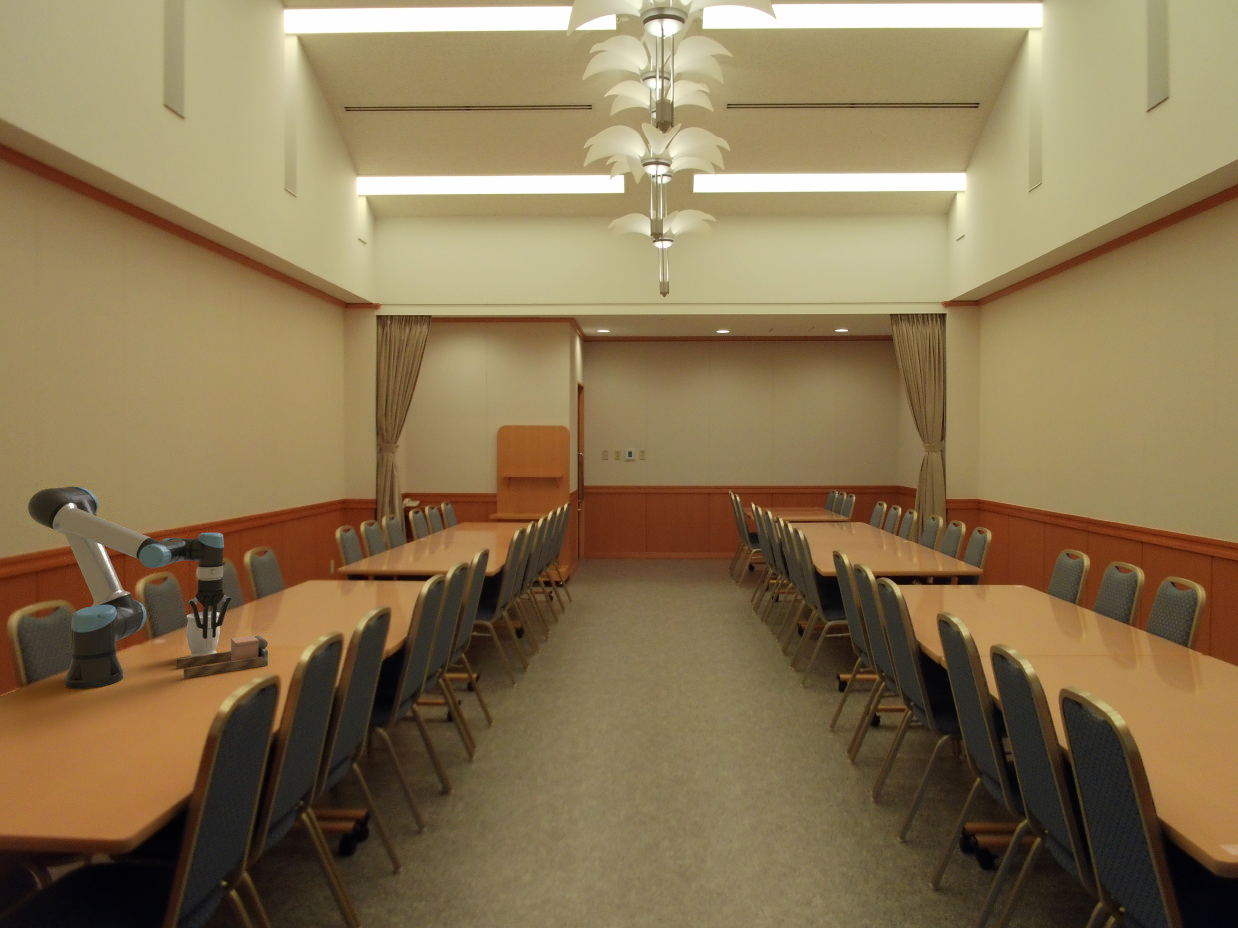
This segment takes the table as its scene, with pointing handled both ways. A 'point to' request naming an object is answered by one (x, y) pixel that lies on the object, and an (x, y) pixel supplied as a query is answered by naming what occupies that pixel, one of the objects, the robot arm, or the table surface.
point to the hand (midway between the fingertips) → (208, 647)
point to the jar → (200, 636)
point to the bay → (220, 657)
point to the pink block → (244, 648)
